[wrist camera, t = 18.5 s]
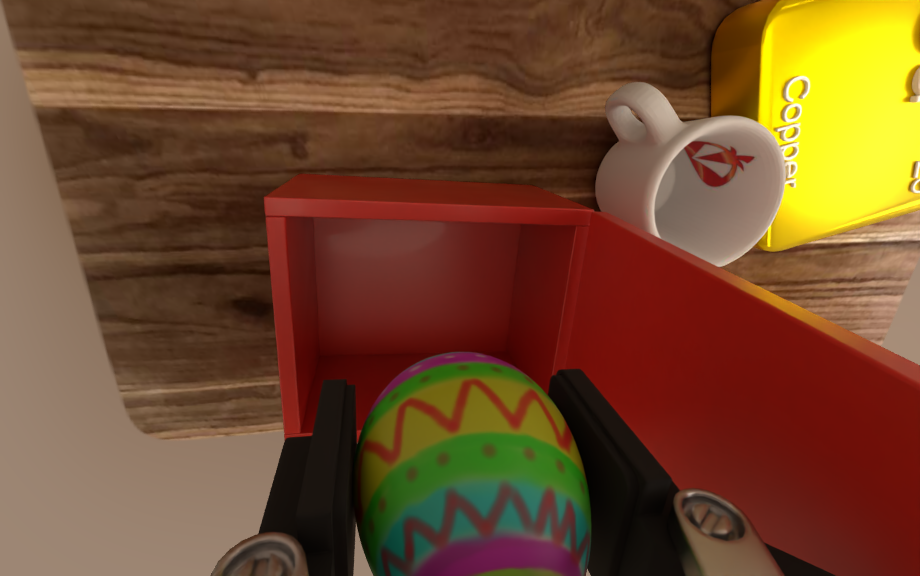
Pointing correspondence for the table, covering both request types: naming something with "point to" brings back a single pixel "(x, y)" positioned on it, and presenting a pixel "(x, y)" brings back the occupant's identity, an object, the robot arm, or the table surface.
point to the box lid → (755, 400)
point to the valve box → (415, 281)
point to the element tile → (828, 107)
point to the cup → (690, 175)
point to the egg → (469, 475)
